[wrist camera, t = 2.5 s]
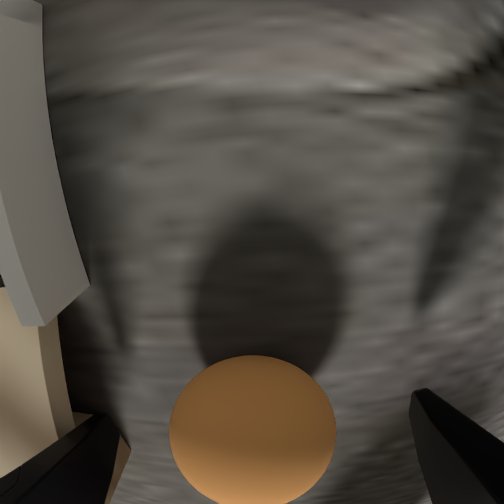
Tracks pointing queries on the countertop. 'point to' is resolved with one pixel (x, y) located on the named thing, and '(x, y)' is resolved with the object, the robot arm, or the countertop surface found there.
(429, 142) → the countertop surface
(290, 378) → the ball
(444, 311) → the countertop surface
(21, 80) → the pocket
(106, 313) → the countertop surface
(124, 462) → the ramp
